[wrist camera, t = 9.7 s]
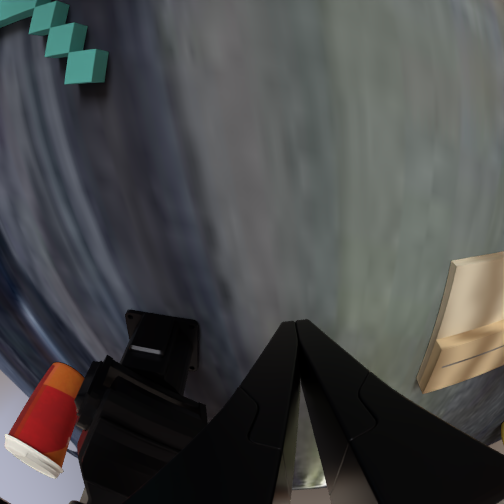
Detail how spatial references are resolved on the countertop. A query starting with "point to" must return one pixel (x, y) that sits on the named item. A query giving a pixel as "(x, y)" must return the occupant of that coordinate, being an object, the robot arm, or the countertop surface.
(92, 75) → the alien figure
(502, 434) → the flower pot
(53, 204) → the countertop surface
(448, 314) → the board
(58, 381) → the paper cup
